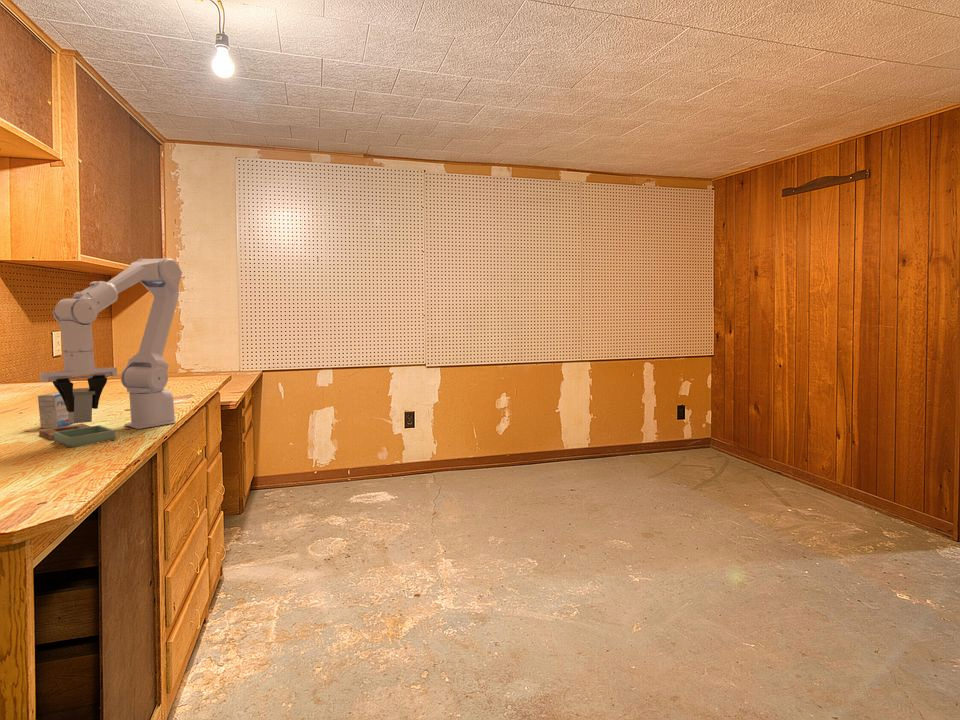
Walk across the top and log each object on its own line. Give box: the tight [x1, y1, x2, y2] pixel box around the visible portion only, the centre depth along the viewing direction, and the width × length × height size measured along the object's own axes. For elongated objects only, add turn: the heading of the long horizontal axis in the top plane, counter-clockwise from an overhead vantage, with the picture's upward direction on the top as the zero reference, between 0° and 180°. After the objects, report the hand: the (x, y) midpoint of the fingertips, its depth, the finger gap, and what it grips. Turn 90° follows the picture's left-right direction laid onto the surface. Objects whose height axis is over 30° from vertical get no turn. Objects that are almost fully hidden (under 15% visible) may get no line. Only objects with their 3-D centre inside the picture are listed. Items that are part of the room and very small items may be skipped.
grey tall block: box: [68, 387, 95, 424], centre depth 128 cm, size 4×4×7 cm
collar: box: [38, 423, 91, 441], centre depth 135 cm, size 9×9×1 cm
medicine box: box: [37, 391, 74, 429], centre depth 144 cm, size 8×4×9 cm, turn 179°
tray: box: [53, 424, 116, 448], centre depth 128 cm, size 9×9×2 cm
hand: (82, 409), depth 128 cm, fingers closed on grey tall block, 4 cm apart
